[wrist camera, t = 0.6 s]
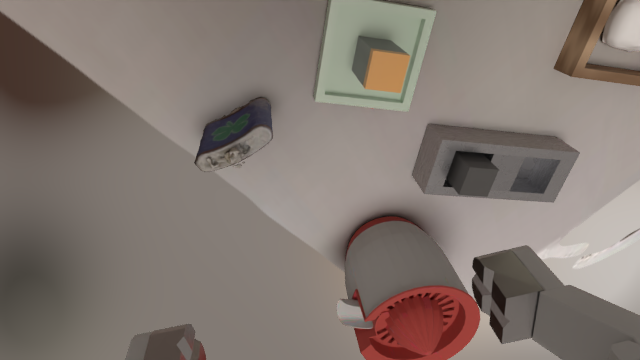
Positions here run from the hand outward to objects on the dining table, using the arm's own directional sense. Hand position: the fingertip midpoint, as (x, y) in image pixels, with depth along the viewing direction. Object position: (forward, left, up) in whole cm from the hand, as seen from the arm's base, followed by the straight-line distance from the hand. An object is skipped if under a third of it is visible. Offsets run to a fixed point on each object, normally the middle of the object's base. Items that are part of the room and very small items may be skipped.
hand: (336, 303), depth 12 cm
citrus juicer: (+31, +20, -41) cm, 55 cm away
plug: (+2, +12, -40) cm, 42 cm away
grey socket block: (+14, +32, -40) cm, 53 cm away
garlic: (-7, +44, -41) cm, 61 cm away
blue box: (+12, -3, -41) cm, 43 cm away
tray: (+2, +12, -40) cm, 42 cm away
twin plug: (+14, +27, -40) cm, 50 cm away
